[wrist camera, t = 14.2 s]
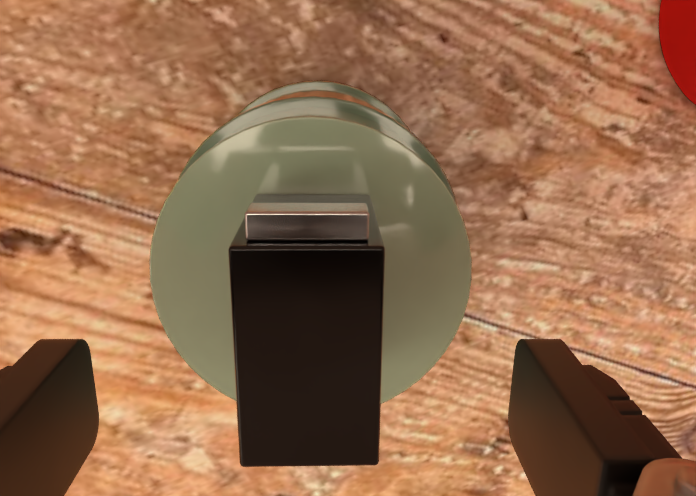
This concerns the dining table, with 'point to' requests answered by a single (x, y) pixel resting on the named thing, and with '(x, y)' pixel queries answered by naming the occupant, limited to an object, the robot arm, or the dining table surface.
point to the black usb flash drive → (308, 330)
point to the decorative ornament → (680, 42)
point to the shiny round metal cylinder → (313, 178)
